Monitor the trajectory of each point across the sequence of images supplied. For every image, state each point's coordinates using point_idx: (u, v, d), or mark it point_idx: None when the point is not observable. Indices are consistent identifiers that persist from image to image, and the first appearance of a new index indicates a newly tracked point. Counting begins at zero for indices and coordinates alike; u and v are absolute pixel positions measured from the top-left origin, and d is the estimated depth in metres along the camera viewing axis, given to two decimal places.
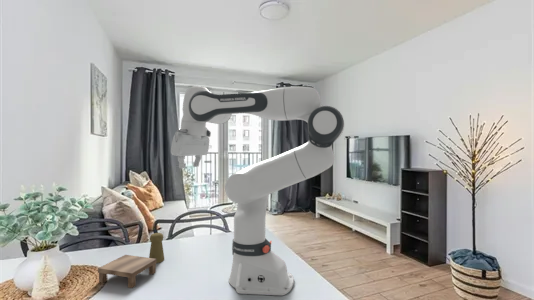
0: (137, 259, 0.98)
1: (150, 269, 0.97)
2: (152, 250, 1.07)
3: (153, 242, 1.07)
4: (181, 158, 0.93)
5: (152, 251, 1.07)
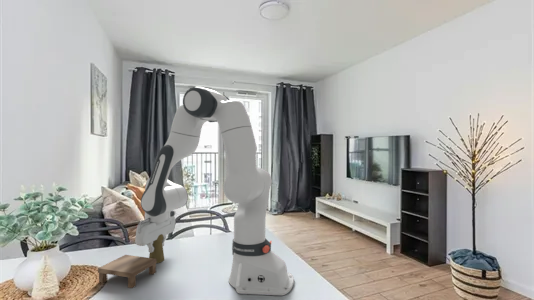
0: (137, 259, 0.98)
1: (150, 269, 0.97)
2: None
3: (153, 242, 1.07)
4: (149, 244, 1.04)
5: None
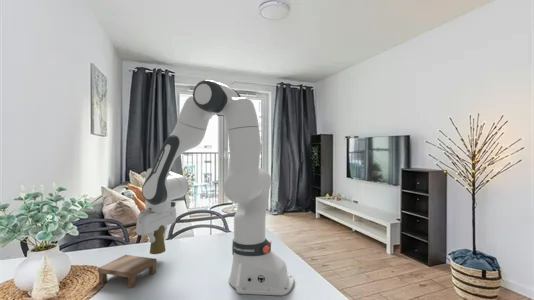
0: (137, 259, 0.98)
1: (150, 269, 0.97)
2: None
3: (154, 233, 1.07)
4: (150, 234, 1.04)
5: (154, 242, 1.07)
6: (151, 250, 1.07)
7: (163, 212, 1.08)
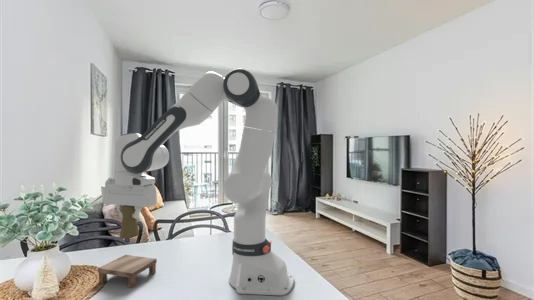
0: (137, 259, 0.98)
1: (150, 269, 0.97)
2: None
3: None
4: None
5: None
6: None
7: (121, 187, 0.92)
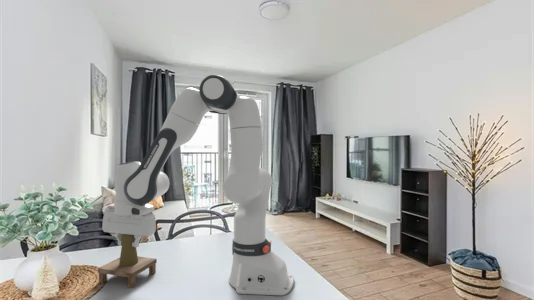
0: None
1: (150, 269, 0.97)
2: None
3: None
4: None
5: None
6: None
7: (121, 216, 0.92)
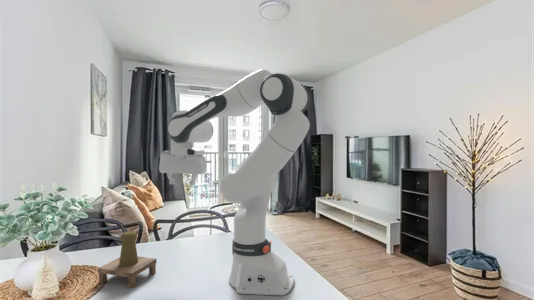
0: None
1: (150, 269, 0.97)
2: None
3: None
4: None
5: None
6: None
7: (177, 157, 1.06)
